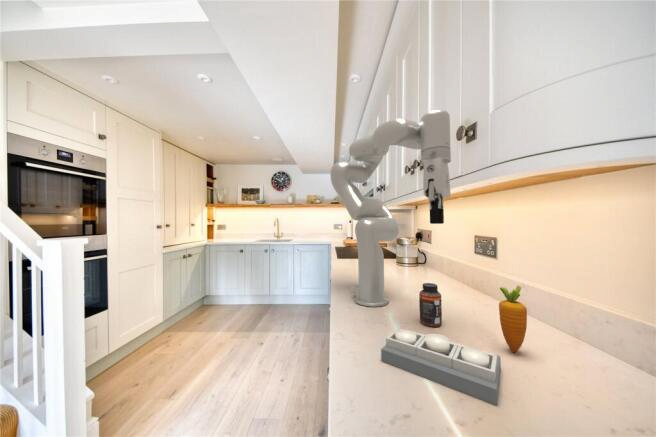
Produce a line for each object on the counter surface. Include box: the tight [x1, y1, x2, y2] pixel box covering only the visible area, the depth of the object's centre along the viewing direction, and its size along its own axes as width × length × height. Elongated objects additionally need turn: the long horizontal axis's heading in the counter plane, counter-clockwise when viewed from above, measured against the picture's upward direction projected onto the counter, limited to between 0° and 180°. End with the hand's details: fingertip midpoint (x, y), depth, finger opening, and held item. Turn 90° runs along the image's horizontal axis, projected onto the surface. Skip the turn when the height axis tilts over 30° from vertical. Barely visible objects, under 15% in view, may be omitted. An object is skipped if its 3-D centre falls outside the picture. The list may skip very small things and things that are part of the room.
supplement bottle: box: [418, 282, 443, 328], centre depth 68 cm, size 6×6×11 cm
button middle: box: [425, 333, 450, 355], centre depth 48 cm, size 4×4×2 cm
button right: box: [461, 346, 489, 369], centre depth 44 cm, size 4×4×2 cm
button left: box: [395, 328, 417, 345], centre depth 52 cm, size 4×4×2 cm
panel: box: [380, 327, 502, 406], centre depth 48 cm, size 20×12×4 cm, turn 51°
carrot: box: [498, 285, 528, 354], centre depth 53 cm, size 5×5×15 cm
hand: (436, 223), depth 65 cm, fingers closed
